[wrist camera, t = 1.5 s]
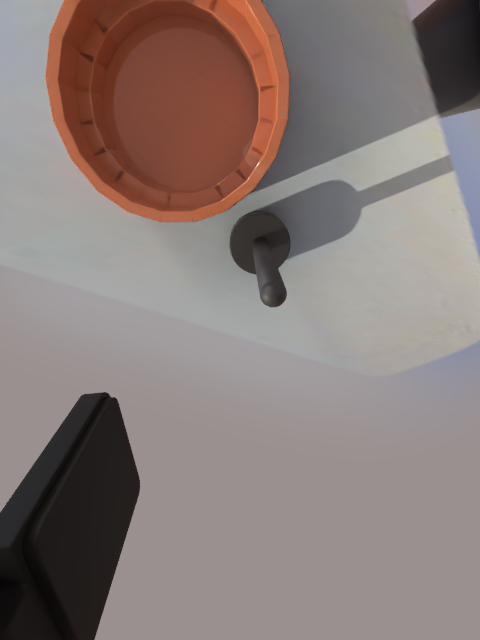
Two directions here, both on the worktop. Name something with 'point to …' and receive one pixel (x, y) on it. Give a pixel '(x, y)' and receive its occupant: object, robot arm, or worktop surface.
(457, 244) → the worktop surface
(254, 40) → the bowl
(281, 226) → the grey disc stick
